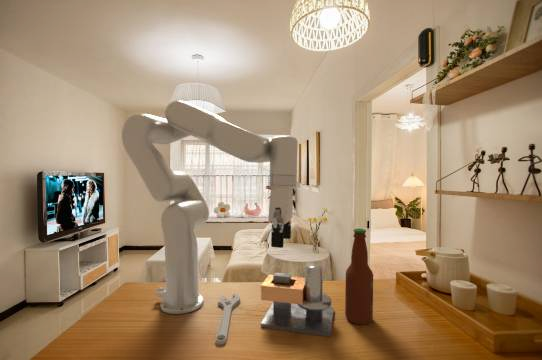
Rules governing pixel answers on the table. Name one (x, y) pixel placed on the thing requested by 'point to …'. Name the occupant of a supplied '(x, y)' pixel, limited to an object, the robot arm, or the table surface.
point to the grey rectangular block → (281, 307)
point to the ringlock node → (300, 303)
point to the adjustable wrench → (225, 317)
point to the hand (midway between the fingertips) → (281, 242)
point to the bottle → (359, 283)
